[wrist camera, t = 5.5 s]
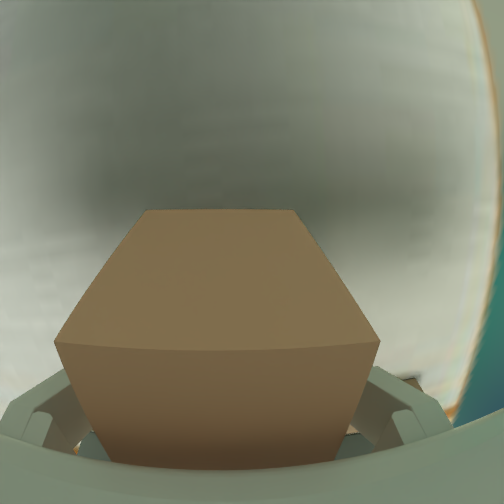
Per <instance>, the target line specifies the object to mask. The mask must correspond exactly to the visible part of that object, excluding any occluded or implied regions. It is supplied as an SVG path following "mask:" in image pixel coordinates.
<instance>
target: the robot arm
mask: <svg viewBox="0 0 504 504" xmlns="http://www.w3.org/2000/svg"><path fill="white" fill-rule="evenodd" d="M350 425H351V426H353V427H354V428H355V429H356V430H357V431H358V432H359V433H361V434H362V435H363V436H364V437H365V438H366V439H367V440H369V441H370V442H371V443H372V444H373V445H374V446H375V447H374V449H373V450H372V452H371V453H369V454H365V455H360V456H355V457H350V458H345V459H340V460H334V461H328V462H321V463H314V464H307V465H299V466H290V467H279V468H267V469H250V470H186V469H169V468H157V467H146V466H137V465H129V464H122V463H115V462H109V461H103V460H97V459H92V458H87V457H82V456H77V455H76V453H75V452H74V450H73V448H74V447H75V446H76V445H77V444H78V443H79V442H80V441H81V440H82V439H83V438H84V437H85V436H86V435H87V434H88V433H89V432H90V431H91V430H92V429H93V428H92V426H91V424H90V422H89V420H88V419H87V417H86V415H85V413H84V411H83V409H82V407H81V404H80V402H79V400H78V398H77V396H76V394H75V392H74V390H73V387H72V385H71V383H70V381H69V378H68V376H67V374H66V371H65V369H62V370H60V371H59V372H57V373H56V374H54V375H53V376H51V377H49V378H48V379H46V380H45V381H43V382H42V383H40V384H38V385H37V386H35V387H34V388H32V389H30V390H29V391H27V392H26V393H24V394H23V395H21V396H19V397H18V398H16V399H15V400H13V401H11V402H10V403H9V405H8V407H7V409H6V411H5V413H4V415H3V417H2V419H1V421H0V504H504V408H502V409H500V410H498V411H496V412H494V413H491V414H489V415H487V416H485V417H482V418H480V419H477V420H475V421H473V422H470V423H468V424H465V425H462V426H460V427H457V428H454V427H453V426H452V424H451V422H450V421H449V419H448V417H447V416H446V414H445V412H444V411H443V409H442V407H441V406H440V404H439V403H438V401H437V400H436V399H434V398H432V397H430V396H429V395H427V394H425V393H423V392H421V391H420V390H418V389H416V388H414V387H413V386H411V385H409V384H407V383H406V382H404V381H402V380H400V379H399V378H397V377H395V376H394V375H392V374H390V373H388V372H387V371H385V370H383V369H381V368H380V367H378V366H375V367H373V365H372V368H371V371H370V374H369V377H368V379H367V382H366V385H365V387H364V390H363V393H362V395H361V398H360V401H359V403H358V406H357V408H356V411H355V413H354V416H353V418H352V420H351V423H350Z"/></svg>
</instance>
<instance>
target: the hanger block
mask: <svg viewBox="0 0 504 504" xmlns="http://www.w3.org/2000/svg"><path fill="white" fill-rule="evenodd" d="M54 344H55V346H56V349H57V351H58V354H59V357H60V359H61V362H62V364H63V367H64V369H65V371H66V374H67V376H68V378H69V381H70V383H71V385H72V387H73V390H74V392H75V394H76V396H77V398H78V400H79V402H80V404H81V407H82V409H83V411H84V413H85V415H86V417H87V419H88V420H89V422H90V424H91V426H92V428H93V430H94V432H95V434H96V435H97V437H98V439H99V441H100V443H101V444H102V446H103V448H104V450H105V451H106V453H107V455H108V456H109V458H110V460H111V461H112V462H115V463H122V464H129V465H137V466H146V467H157V468H169V469H186V470H250V469H267V468H279V467H290V466H299V465H307V464H314V463H321V462H328V461H334V459H335V457H336V455H337V452H338V450H339V448H340V446H341V444H342V441H343V439H344V437H345V435H346V432H347V430H348V428H349V425H350V423H351V420H352V418H353V416H354V413H355V411H356V408H357V406H358V403H359V401H360V398H361V395H362V393H363V390H364V387H365V385H366V382H367V379H368V377H369V374H370V371H371V368H372V365H373V362H374V359H375V356H376V353H377V350H378V347H379V344H380V339H379V338H378V336H377V334H376V333H375V331H374V330H373V328H372V326H371V325H370V323H369V322H368V320H367V319H366V317H365V315H364V314H363V312H362V311H361V309H360V308H359V306H358V304H357V303H356V301H355V300H354V298H353V297H352V295H351V294H350V292H349V291H348V289H347V287H346V286H345V284H344V283H343V281H342V280H341V278H340V277H339V275H338V274H337V272H336V271H335V269H334V268H333V266H332V265H331V263H330V262H329V260H328V259H327V257H326V256H325V254H324V253H323V252H322V250H321V249H320V247H319V246H318V244H317V243H316V241H315V240H314V238H313V237H312V236H311V234H310V233H309V231H308V230H307V228H306V227H305V226H304V224H303V223H302V221H301V220H300V218H299V217H298V216H297V214H296V213H295V211H294V210H274V209H170V210H146V211H145V212H144V213H143V215H142V216H141V217H140V218H139V220H138V221H137V222H136V224H135V225H134V226H133V227H132V229H131V230H130V231H129V233H128V234H127V235H126V236H125V238H124V239H123V240H122V242H121V243H120V244H119V246H118V247H117V248H116V250H115V251H114V252H113V254H112V255H111V256H110V258H109V259H108V261H107V262H106V263H105V265H104V266H103V268H102V269H101V270H100V272H99V273H98V275H97V276H96V277H95V279H94V280H93V282H92V283H91V285H90V286H89V287H88V289H87V290H86V292H85V293H84V295H83V296H82V298H81V299H80V301H79V302H78V304H77V305H76V307H75V308H74V310H73V311H72V313H71V314H70V316H69V318H68V319H67V321H66V322H65V324H64V325H63V327H62V329H61V330H60V332H59V333H58V335H57V337H56V338H55V340H54Z"/></svg>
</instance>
